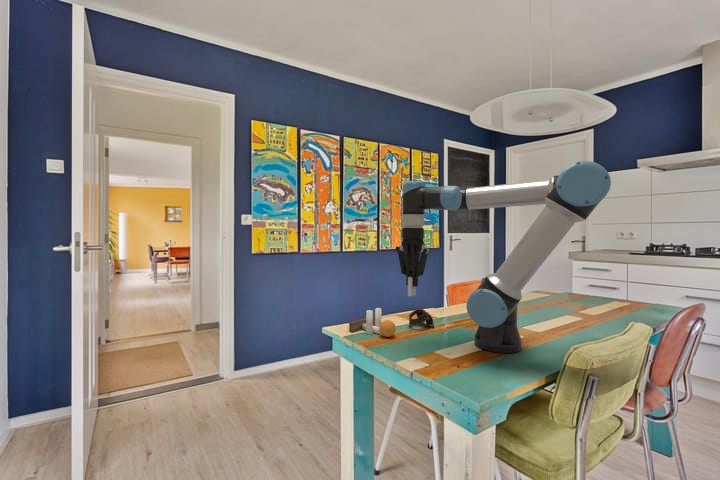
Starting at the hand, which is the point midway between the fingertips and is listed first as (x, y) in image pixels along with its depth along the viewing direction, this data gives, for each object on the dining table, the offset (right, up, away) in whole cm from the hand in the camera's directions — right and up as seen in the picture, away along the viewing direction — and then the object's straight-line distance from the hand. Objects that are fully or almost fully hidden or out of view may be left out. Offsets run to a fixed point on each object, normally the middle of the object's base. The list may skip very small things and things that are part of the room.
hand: (411, 295), depth 125 cm
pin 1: (-14, -16, +11) cm, 24 cm away
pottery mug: (+7, -16, +21) cm, 27 cm away
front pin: (-10, -15, +10) cm, 20 cm away
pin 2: (-11, -16, +14) cm, 24 cm away
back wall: (-17, -15, +17) cm, 28 cm away
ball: (-8, -13, +7) cm, 17 cm away
